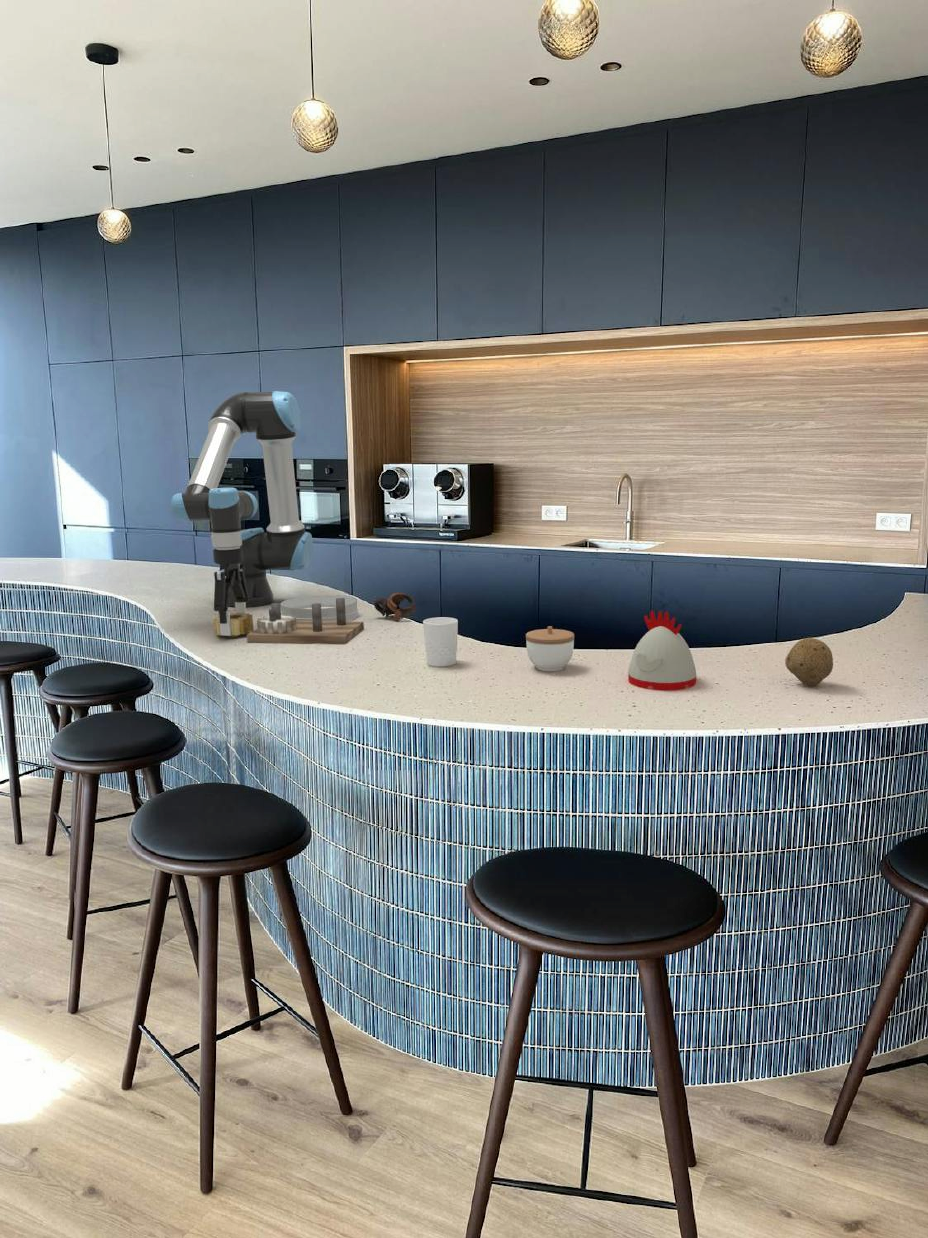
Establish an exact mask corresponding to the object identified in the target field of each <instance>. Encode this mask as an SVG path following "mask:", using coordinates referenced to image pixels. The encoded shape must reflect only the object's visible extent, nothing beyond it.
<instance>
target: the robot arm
mask: <svg viewBox="0 0 928 1238" xmlns="http://www.w3.org/2000/svg"><path fill="white" fill-rule="evenodd" d="M301 427H302V416H301V410H300V406H299V404H298V402H297V399H296V398H295V396H294V395H293V394H292V393H291V392H288V391H277V390H275V391H271V390H270V391H257V392H256V391H255V392H250V391H249V392H247V391H245V392H244V391H243V392H238V393H235V394H234V395H232V396H230V397H227V399H225V400H224V401H223V402H222V403H221V404H220V405H219V406H218V407H217V408H216V409H215V410H214V412H213V414H212V415H211V416H210V419H209V421H208V425H207V430H208V433H207V437H206V439H205V441H204V445H203V447H202V449H201V451H200V454H199V457H198V460H197V461H196V464H195V467H194V470H193V472H192V474H191V477H190V480H189V482H188V485H187V487H186V489H185V491H184V492H180V493H175V494H174V495H172V498H171V502H170V508H171V509H170V510H171V513H172V515H173V517H174V519H176V520H177V521H182V522H206V521H207V522H210V527H211V529H210V530H211V535H210V538H211V541H212V542H211V543H212V547H213V548H214V549H212V555H213V562H214V564H216V565H219V571H214V572H213V576H214V577H213V578H214V596H213V597H214V598H213V610H214V612H217V613H218V616H219V624H220V635H219V636H224V635H227V637H229V636H232V635H231V624H230V613H231V612H230V610H228V609H229V607H232V606H233V608H235V613H243V614H246V613H247V608H248V607H250V608H251V607H252V608H253V607H258V606H265V605H271V604H272V603H274V593H273V591H272V589H271V586H270V584H269V581H268V578H267V571H290V572H291V571H300V570H301V571H302V570H305V569H306V568H307V567H308V566H309V564H310V562H311V559H312V557H313V556H312V554H313V549H314V548H313V547H314V541H313V537H312V534H311V532H308V531H306V527H305V525H304V524H303V523H302V522H301V521H300V519H299V517H300V515H299V507H298V506H299V505H298V499H297V498H298V497H297V486H296V478H295V467H294V455H293V446H292V442H293V441H294V440H295V438H296V437H297V435H296V433H297V432H299V431H300V429H301ZM246 433H250V434H252V433H255V439H256V441H258V442H259V443H260V444H261V446H262V455H263V465H264V473H265V474H264V475H265V481H266V489H267V490H266V491H267V500H268V501H267V502H268V507H269V508H268V509H269V511H268V512H269V518H270V523H269V525H268V526H267V527H266V532H265V530H264V528H263V527H255V528H248V529H241V528H242V527H241V526H242V525H241V524H242V523H241V522H242V521H248V520H249V519H251V518H252V517H254V516H255V515H256V513H257V511H258V507H259V503H258V500H257V498H256V496H255V495H254V494H252V493H251V492H250V491H249V492H248V491H238V489H237V488H235V487H219V484H220V481H221V479H222V476H223V473H224V471H225V468H226V465H227V462H228V460H229V457H230V454H231V452H232V449H233V446H234V444H235V443H236V442H237V441H238V440H240V438H241V436H242V435H243V434H246Z"/></svg>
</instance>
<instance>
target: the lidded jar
mask: <svg viewBox="0 0 928 1238" xmlns="http://www.w3.org/2000/svg"><path fill="white" fill-rule="evenodd" d="M525 640H526V642H525V643H526V651H527V657H528V659H529V660H530V662H531V663H532V664H533V665H534V666H535V667H536V669H537V670H539V671H542V672H558V671H562V670H564V669H565V666H567V664H568V663H569V662H570V661H571V659H572V657H573V654H574V645H575V633H574V632H572V631H570V630H566V629H558V628H553V626H551V625H550V626H547V628H543V629H534V630H531V631H528V632H527V633H525Z"/></svg>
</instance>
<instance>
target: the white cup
mask: <svg viewBox="0 0 928 1238" xmlns="http://www.w3.org/2000/svg"><path fill="white" fill-rule="evenodd" d="M422 623H423V635H424V636H423V637H424V647H425V653H426V654H425V655H426V656H425V657H426V664H427V666H431V667H436V668H437V667H439V668H440V667H443V668H444V667H450V666H455V664H456V663H457V652H458V636H459V635H458V633H459V630H458V626H459V621H458V619H457V618H454V617H448V616H447V617H444V616H443V617H442V616H441V617H431V618H430V617H429V618H426V619H424V620H422Z"/></svg>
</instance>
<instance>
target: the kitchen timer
mask: <svg viewBox="0 0 928 1238" xmlns="http://www.w3.org/2000/svg"><path fill="white" fill-rule="evenodd" d="M643 618H644V621H645V625H646V626H647V629H648V631H647V632H646V633H645V634H644V635H643V636H642V638H640V640H639V641H638V643H637V644H636V647H635V648H634V650H633V654H632V656H631V659H630V663H629V665H628V672H627V673H628V674H627V676H628V679H627V681H628V683H629V684H631V685H632V686H635V687H637V688H641V689H645V690H651V691H681V690H686V689H690V688H692V687H694V686H695V685H696V683H697V670H696V665H695V662H694V661H695V660H694V659H693V655H692V651H691V649H690V647H689V645H688V643H687V642H686V640H685V639H684V637H683V636H682V634H680V630H681V627H682V623H680V624H678V625H677V627H676V628H675V623H676V617H672V619H670V614H669V611H666V612H664V616H663V611H662V610H660V611H658V612H657V618H656V614H655V611H654V610H651V611H650V613H649V617H648V616H647V615H644V616H643Z"/></svg>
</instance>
